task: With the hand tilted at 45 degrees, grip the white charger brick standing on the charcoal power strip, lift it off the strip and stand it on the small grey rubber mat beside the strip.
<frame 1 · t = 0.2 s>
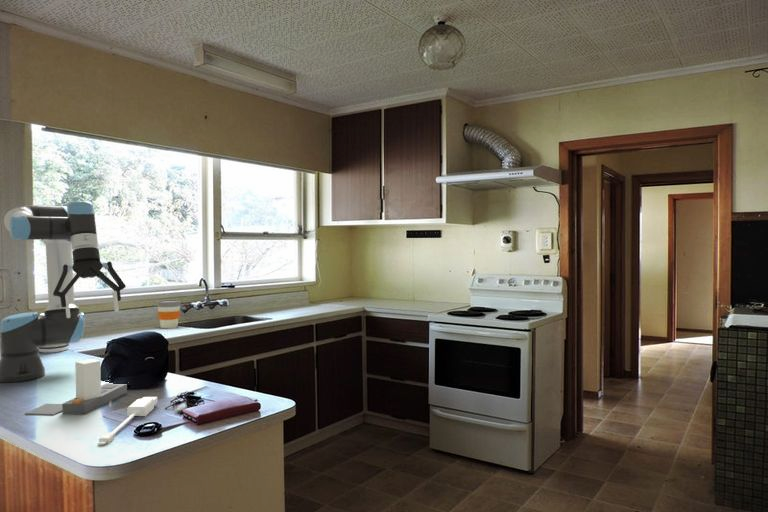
hand: (93, 314, 170), 28 cm above the countertop, tool tilted 15°, fingers open, 13 cm apart
charger: (88, 397, 165), point 3 cm above the countertop, touching strip
charging cable: (129, 424, 151), on the countertop
external hard drive: (104, 389, 187), on the countertop
mat: (50, 409, 162), on the countertop
strip: (96, 402, 169), on the countertop
reusable coffee cup: (169, 327, 308), on the countertop
supplement tub: (53, 350, 245), on the countertop
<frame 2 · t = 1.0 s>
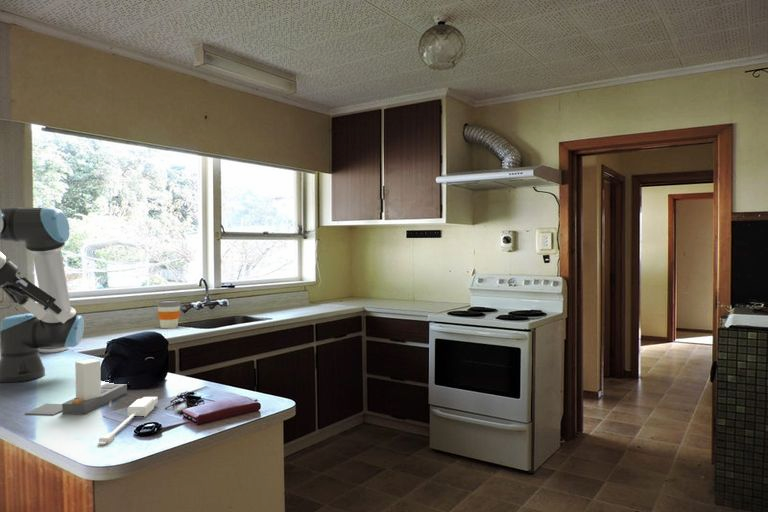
hand: (54, 317, 156), 28 cm above the countertop, tool tilted 45°, fingers open, 13 cm apart
nothing on the countertop moved.
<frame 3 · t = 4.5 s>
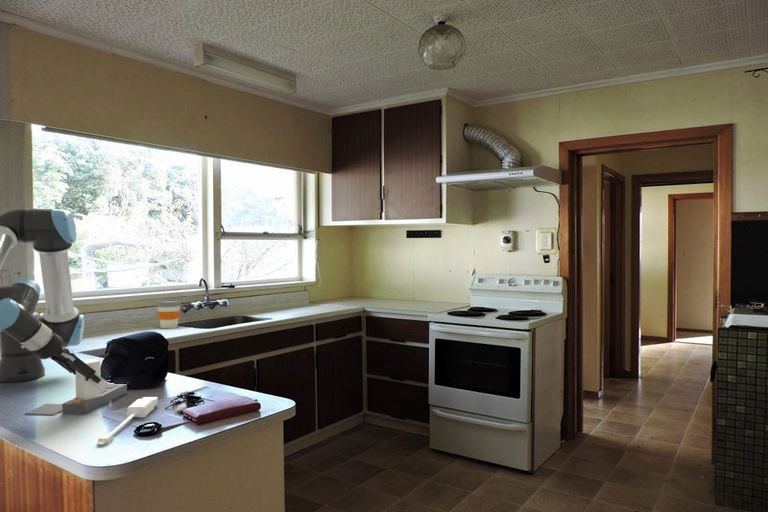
hand: (100, 385, 168), 6 cm above the countertop, tool tilted 45°, fingers closed on charger, 5 cm apart
charger: (88, 397, 165), point 3 cm above the countertop, touching gripper, strip
everything else where it was.
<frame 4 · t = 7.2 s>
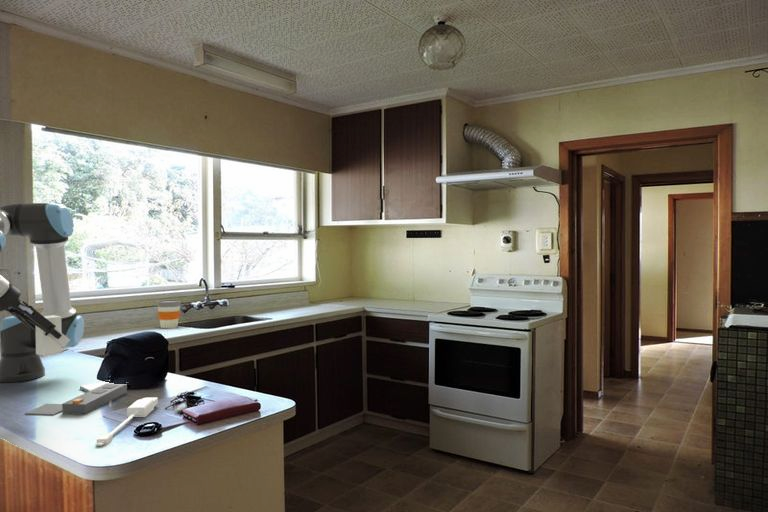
hand: (62, 342, 164), 20 cm above the countertop, tool tilted 45°, fingers closed on charger, 5 cm apart
charger: (48, 353, 161), point 17 cm above the countertop, touching gripper
everything else where it was.
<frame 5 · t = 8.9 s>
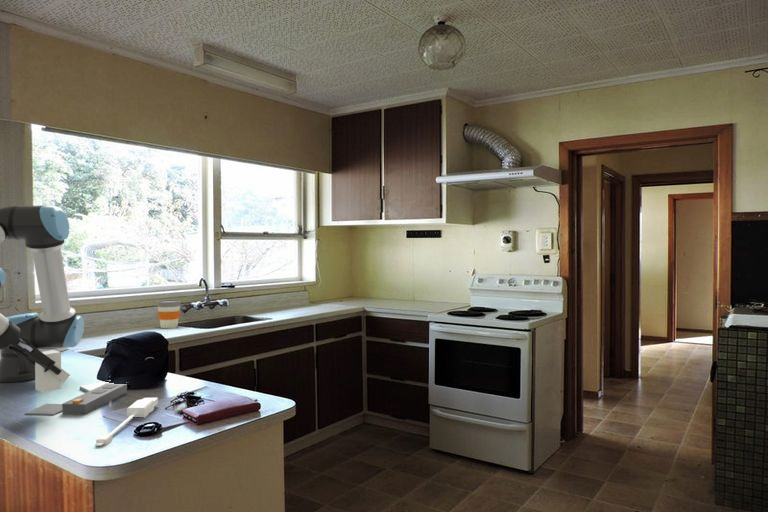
hand: (61, 377, 164), 9 cm above the countertop, tool tilted 45°, fingers closed on charger, 5 cm apart
charger: (48, 389, 161), point 7 cm above the countertop, touching gripper
everything else where it was.
when the fingers open (5 cm above the countertop, at t = 10.2 s): charger drops 1 cm, resting on mat.
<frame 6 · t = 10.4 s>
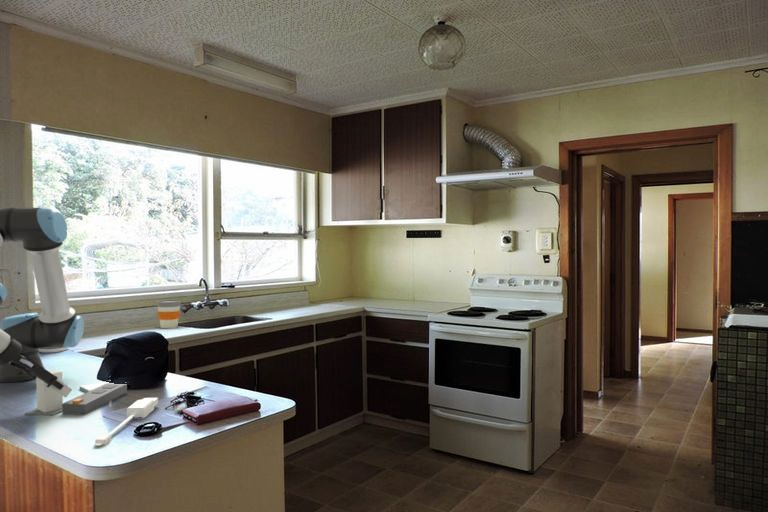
hand: (62, 390, 164), 5 cm above the countertop, tool tilted 45°, fingers open, 7 cm apart
charger: (49, 408, 162), resting on mat
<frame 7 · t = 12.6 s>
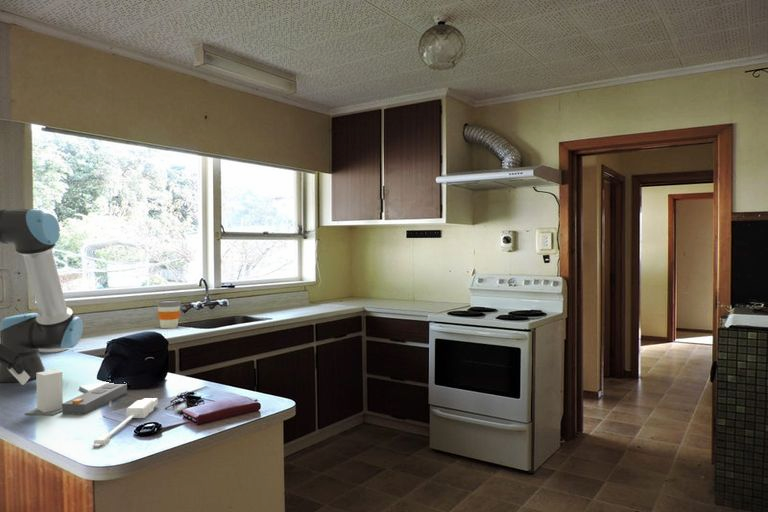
hand: (6, 383, 153), 10 cm above the countertop, tool tilted 35°, fingers open, 13 cm apart
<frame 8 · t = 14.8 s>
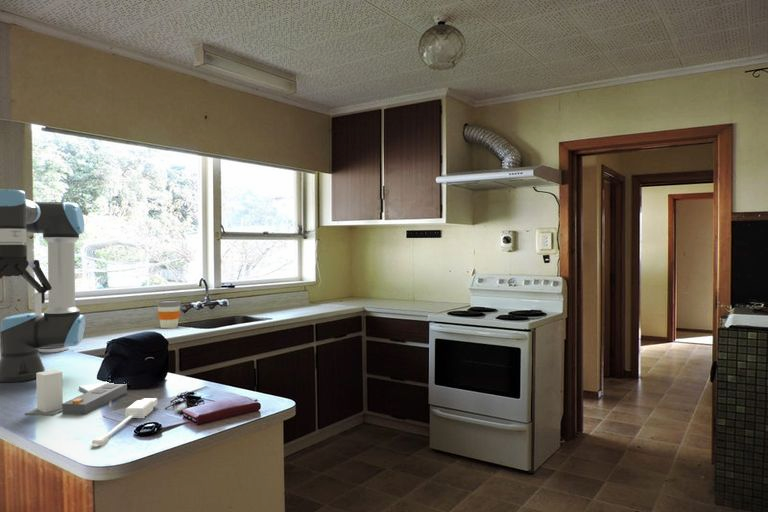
hand: (12, 317, 155), 29 cm above the countertop, tool pointing down, fingers open, 13 cm apart
at the end: charger inside the target area on the mat (0.0 cm from its centre), point 0.4 cm above the mat's base; charger tilted 0°; charger touching mat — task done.
